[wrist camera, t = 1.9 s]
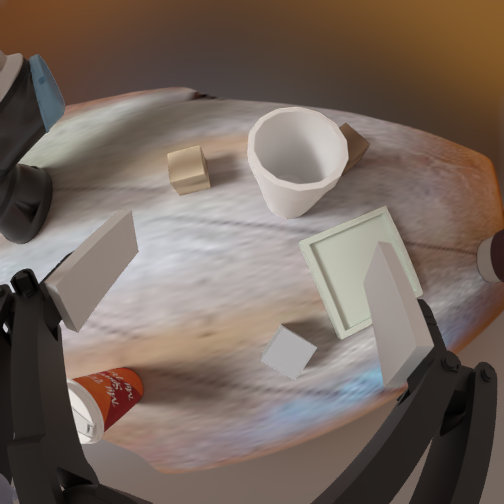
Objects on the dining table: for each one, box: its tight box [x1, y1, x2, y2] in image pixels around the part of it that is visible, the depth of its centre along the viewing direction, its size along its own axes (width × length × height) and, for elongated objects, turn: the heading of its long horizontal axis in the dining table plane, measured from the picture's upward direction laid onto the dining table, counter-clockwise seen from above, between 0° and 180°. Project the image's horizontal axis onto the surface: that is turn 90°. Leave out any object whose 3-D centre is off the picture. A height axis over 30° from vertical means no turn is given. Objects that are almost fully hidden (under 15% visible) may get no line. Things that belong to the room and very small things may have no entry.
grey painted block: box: [261, 324, 317, 381], centre depth 30 cm, size 4×4×4 cm
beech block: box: [167, 145, 211, 196], centre depth 35 cm, size 4×4×4 cm
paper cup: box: [66, 368, 144, 444], centre depth 25 cm, size 8×8×14 cm
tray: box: [299, 205, 423, 340], centre depth 33 cm, size 13×13×2 cm
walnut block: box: [339, 123, 370, 176], centre depth 35 cm, size 4×4×4 cm
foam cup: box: [247, 107, 349, 219], centre depth 30 cm, size 10×9×13 cm
